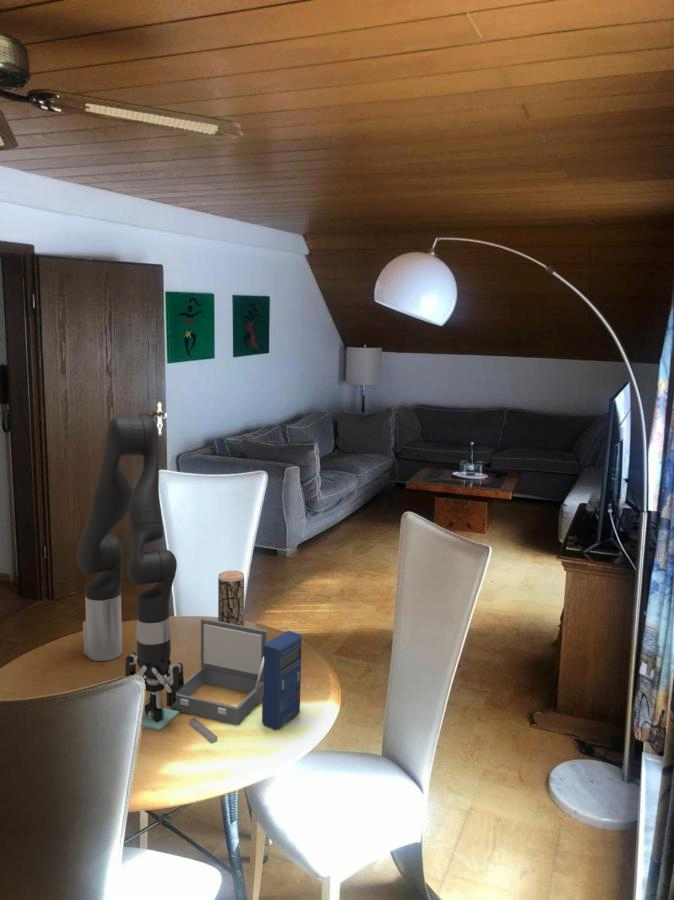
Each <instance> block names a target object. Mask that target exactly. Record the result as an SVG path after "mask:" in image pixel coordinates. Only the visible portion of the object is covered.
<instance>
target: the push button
mask: <svg viewBox="0 0 674 900" xmlns="http://www.w3.org/2000/svg"><path fill="white" fill-rule="evenodd" d="M164 678H165V677H164ZM165 679H166V678H165ZM144 680H145V684H146V690H145V691H146V692H148V703H147V704H144V706H143V707H144V708H143V710H145V712H146V714H147V715H148V718H150V719H151V718H153V719H154V720H155V722H158V721H160V720H162V719H164V708H165V707H164V706H163V702H162V691H163V690H164V689H166V688H165V687H164V685H162V684H161V683H160V681H159V680H156V679H153V678H145V679H144Z"/></svg>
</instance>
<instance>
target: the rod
mask: <svg viewBox="0 0 674 900" xmlns="http://www.w3.org/2000/svg"><path fill="white" fill-rule="evenodd" d="M188 724H189V725H190V726H191V727H192V728H193V729H194V730H195V731H197V732H198V733H199V734H200V735H202V737H204V738H205V739H206V740H207V741H208V742H210V743H211V744H214V743H216V742H218V736H217V735H216V734H215V733H213V731H211V730H210V729H209V728H208V727H206V725H204V724H203V723H202V722H200V721H199V720H198V718H196V717H192V718H190V719H188Z"/></svg>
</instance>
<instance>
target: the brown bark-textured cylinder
mask: <svg viewBox="0 0 674 900" xmlns="http://www.w3.org/2000/svg"><path fill="white" fill-rule="evenodd" d="M217 580H218V581H217V582H218V583H217V584H218V585H217V587H218V588H217V589H218V590H217V593H218V595H217V597H218V598H217V605H218V606H217V609H218V610H217V613H218V614H217V621H219V622H225V623H230V624H235V625H240V626H245V573H244V572H242V571H239V570H227V571H222V572H220V573H219V574H218V579H217Z"/></svg>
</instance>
